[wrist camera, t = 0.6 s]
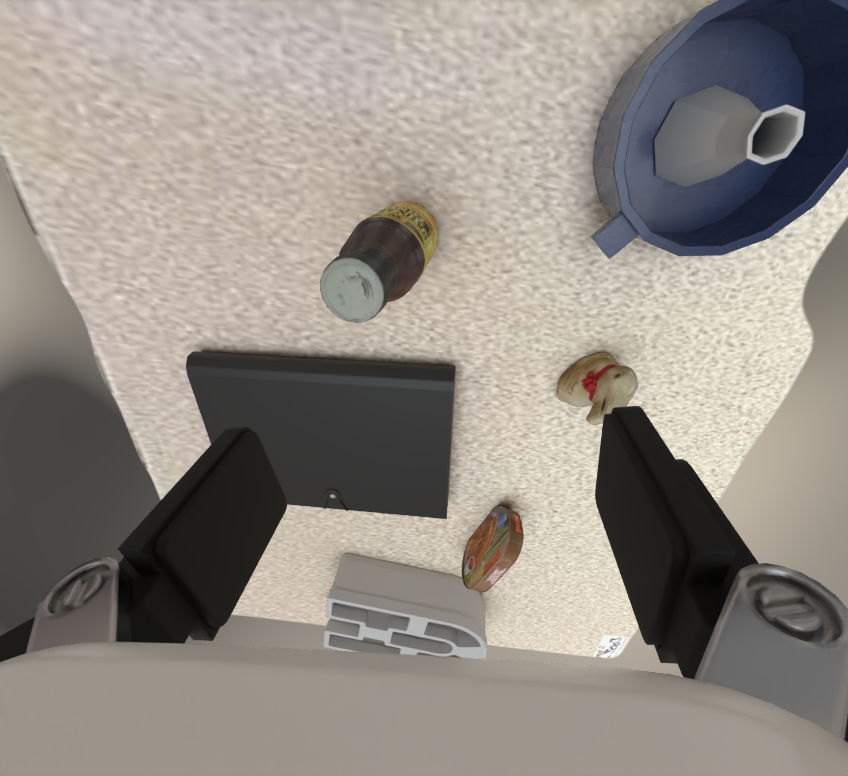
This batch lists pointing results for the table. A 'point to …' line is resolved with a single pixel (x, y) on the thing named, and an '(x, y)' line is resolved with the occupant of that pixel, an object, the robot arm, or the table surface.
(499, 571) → the tin
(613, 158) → the pot
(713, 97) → the flask
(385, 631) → the grey compartment organizer
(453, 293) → the table surface
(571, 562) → the table surface
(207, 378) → the file folder
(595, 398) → the chocolate bunny
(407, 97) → the table surface
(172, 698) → the robot arm
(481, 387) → the table surface
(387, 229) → the sauce bottle
